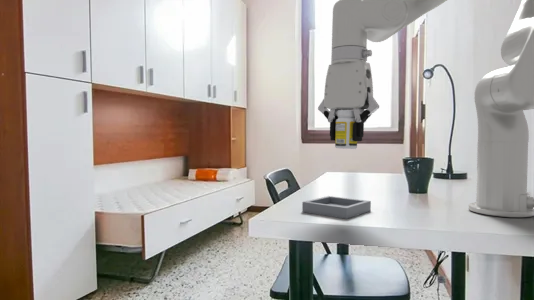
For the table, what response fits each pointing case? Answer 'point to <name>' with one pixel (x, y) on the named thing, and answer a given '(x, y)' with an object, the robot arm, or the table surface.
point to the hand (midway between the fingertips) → (346, 139)
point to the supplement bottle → (345, 130)
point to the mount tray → (336, 207)
